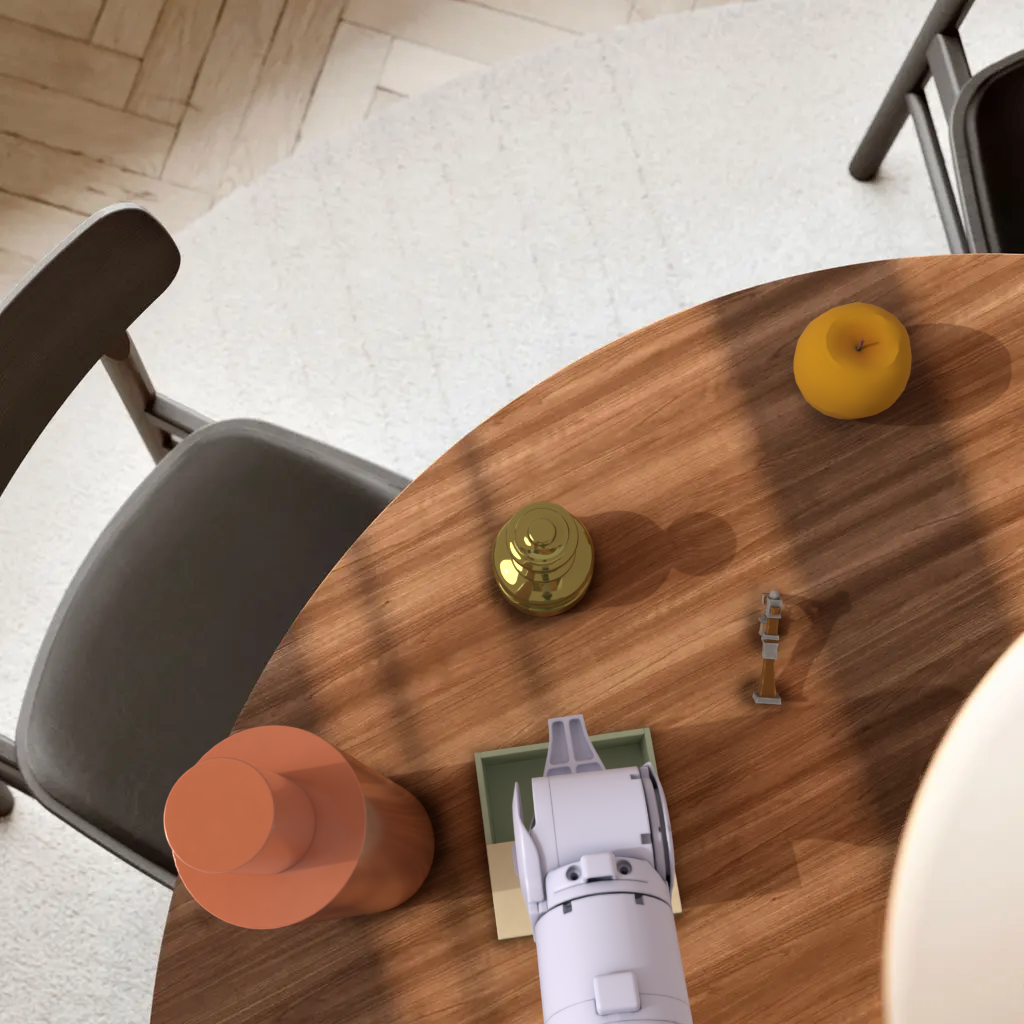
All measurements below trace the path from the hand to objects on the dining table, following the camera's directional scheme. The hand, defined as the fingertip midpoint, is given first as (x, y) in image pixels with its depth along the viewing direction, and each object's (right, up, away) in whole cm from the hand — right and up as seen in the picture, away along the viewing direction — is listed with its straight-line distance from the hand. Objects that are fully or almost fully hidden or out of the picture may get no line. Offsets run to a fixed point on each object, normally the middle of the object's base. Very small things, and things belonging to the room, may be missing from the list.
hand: (583, 854), depth 71 cm
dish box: (0, -1, +9) cm, 10 cm away
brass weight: (-2, +17, +16) cm, 23 cm away
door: (0, -2, +3) cm, 3 cm away
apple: (+21, +31, +19) cm, 42 cm away
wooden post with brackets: (+14, +11, +13) cm, 22 cm away
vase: (-14, -2, +10) cm, 17 cm away
